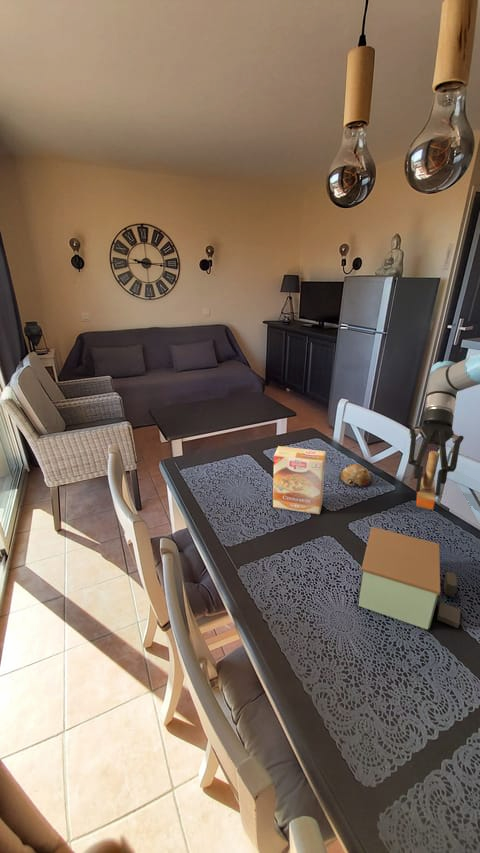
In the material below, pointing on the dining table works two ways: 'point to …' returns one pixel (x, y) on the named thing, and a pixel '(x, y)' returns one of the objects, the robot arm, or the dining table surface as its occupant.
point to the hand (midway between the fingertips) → (427, 492)
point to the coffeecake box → (298, 479)
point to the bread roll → (356, 475)
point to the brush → (428, 483)
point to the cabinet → (401, 577)
